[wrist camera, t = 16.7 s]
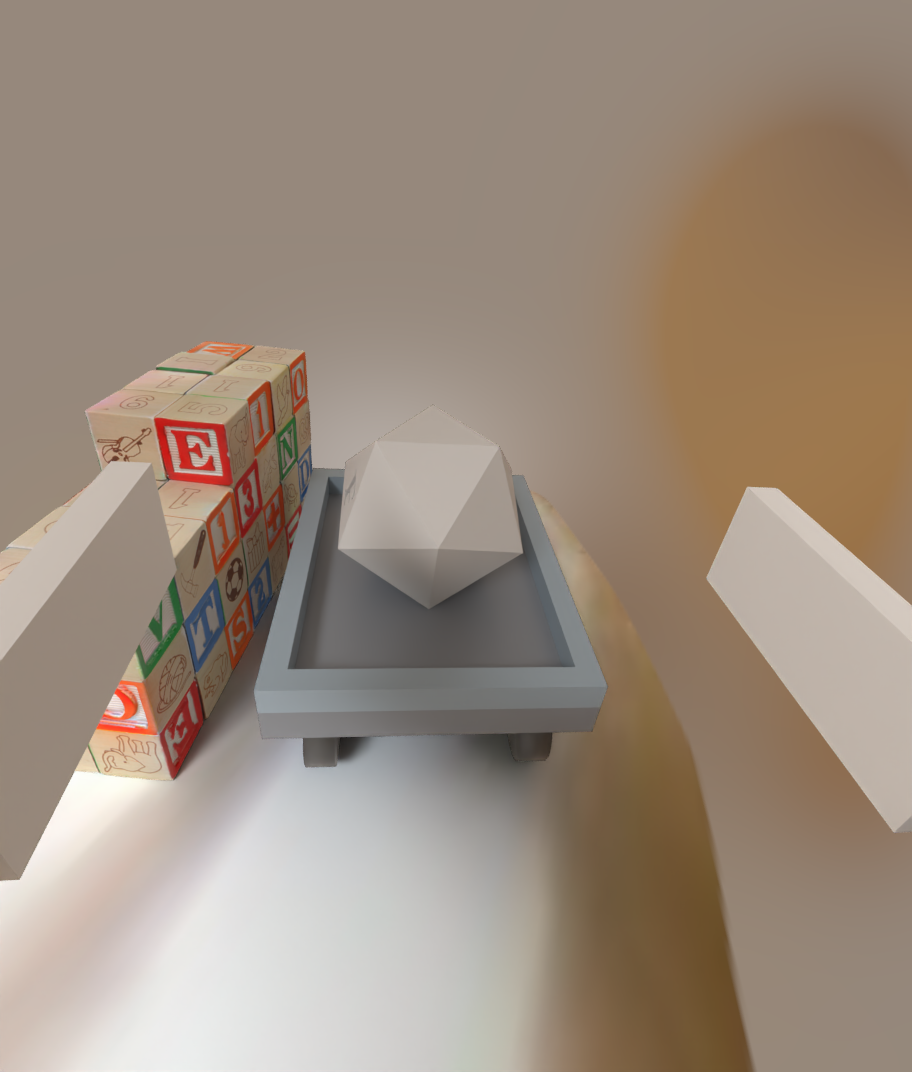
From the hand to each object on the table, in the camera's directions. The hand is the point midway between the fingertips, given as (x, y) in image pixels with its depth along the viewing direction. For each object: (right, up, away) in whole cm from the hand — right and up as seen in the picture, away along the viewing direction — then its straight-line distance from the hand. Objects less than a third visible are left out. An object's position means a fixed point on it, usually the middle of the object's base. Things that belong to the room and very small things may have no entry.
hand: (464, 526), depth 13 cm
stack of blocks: (-14, -5, +19) cm, 24 cm away
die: (-2, -2, +16) cm, 16 cm away
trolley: (-2, -6, +18) cm, 19 cm away
